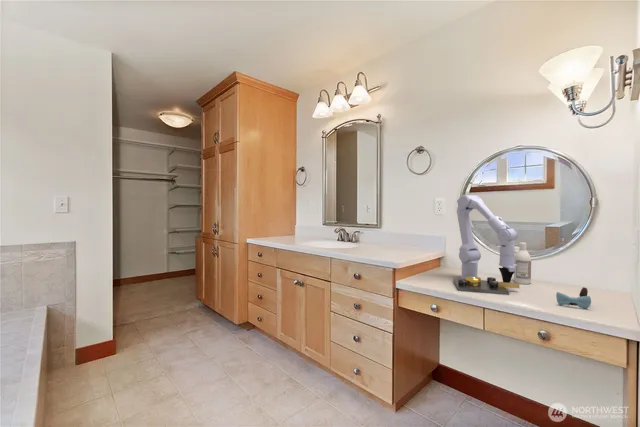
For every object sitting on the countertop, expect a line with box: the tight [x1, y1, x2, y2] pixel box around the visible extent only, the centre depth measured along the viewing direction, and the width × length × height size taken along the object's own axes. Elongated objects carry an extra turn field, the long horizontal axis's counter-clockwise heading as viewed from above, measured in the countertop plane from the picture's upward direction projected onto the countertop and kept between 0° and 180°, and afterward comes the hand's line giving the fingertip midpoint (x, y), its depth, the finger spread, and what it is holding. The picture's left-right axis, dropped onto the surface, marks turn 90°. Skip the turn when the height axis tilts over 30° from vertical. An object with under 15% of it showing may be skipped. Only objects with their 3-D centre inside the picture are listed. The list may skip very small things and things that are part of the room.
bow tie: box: [555, 291, 592, 310], centre depth 110 cm, size 10×2×5 cm, turn 57°
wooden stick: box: [489, 280, 520, 289], centre depth 131 cm, size 12×4×2 cm, turn 73°
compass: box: [568, 286, 589, 306], centre depth 114 cm, size 8×8×7 cm
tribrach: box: [452, 276, 510, 296], centre depth 137 cm, size 17×20×5 cm
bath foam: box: [513, 242, 532, 285], centre depth 144 cm, size 7×7×20 cm
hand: (506, 283), depth 134 cm, fingers closed
